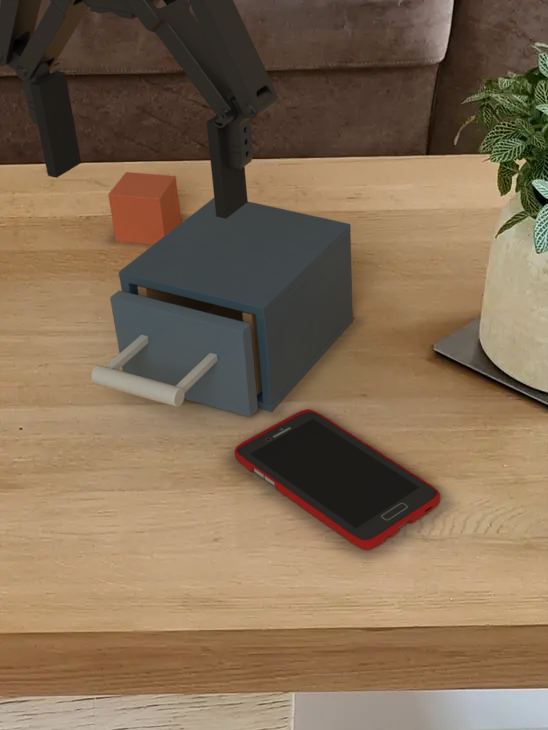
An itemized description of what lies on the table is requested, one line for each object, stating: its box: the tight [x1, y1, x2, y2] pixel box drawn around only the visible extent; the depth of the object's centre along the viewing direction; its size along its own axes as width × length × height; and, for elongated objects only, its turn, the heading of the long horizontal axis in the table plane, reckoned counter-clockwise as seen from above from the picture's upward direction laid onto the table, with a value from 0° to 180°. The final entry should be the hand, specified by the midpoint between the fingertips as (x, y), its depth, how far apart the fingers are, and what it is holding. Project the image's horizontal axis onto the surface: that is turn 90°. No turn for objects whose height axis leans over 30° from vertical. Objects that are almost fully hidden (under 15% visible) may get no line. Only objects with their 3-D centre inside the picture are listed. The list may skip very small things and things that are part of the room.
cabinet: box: [118, 197, 354, 413], centre depth 95 cm, size 15×13×10 cm
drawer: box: [90, 285, 262, 418], centre depth 91 cm, size 20×11×8 cm, turn 158°
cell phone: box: [233, 409, 441, 551], centre depth 84 cm, size 8×15×1 cm, turn 46°
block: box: [108, 171, 182, 245], centre depth 112 cm, size 5×5×5 cm
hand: (146, 189), depth 80 cm, fingers open, 13 cm apart
